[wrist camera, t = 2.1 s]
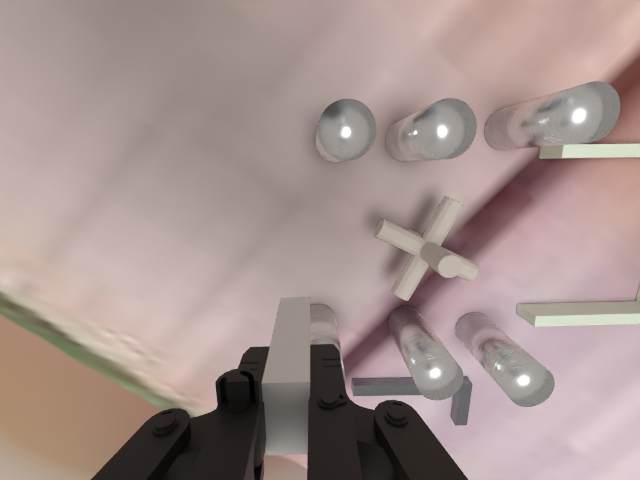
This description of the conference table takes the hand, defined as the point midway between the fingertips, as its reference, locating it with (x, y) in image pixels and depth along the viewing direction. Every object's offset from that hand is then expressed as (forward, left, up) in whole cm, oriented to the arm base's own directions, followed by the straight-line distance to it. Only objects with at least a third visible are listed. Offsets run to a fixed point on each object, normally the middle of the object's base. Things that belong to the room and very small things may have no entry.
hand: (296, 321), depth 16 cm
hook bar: (+20, +12, -18) cm, 30 cm away
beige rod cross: (0, +11, -18) cm, 21 cm away
